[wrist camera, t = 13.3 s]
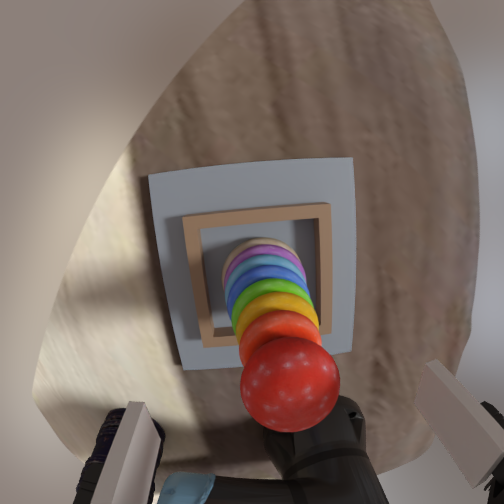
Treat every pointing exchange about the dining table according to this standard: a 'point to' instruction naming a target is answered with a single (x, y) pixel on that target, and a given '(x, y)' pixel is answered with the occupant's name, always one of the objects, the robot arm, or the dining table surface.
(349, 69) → the dining table surface
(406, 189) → the dining table surface
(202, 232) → the baseplate
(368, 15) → the dining table surface
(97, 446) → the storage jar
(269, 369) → the stacking toy
